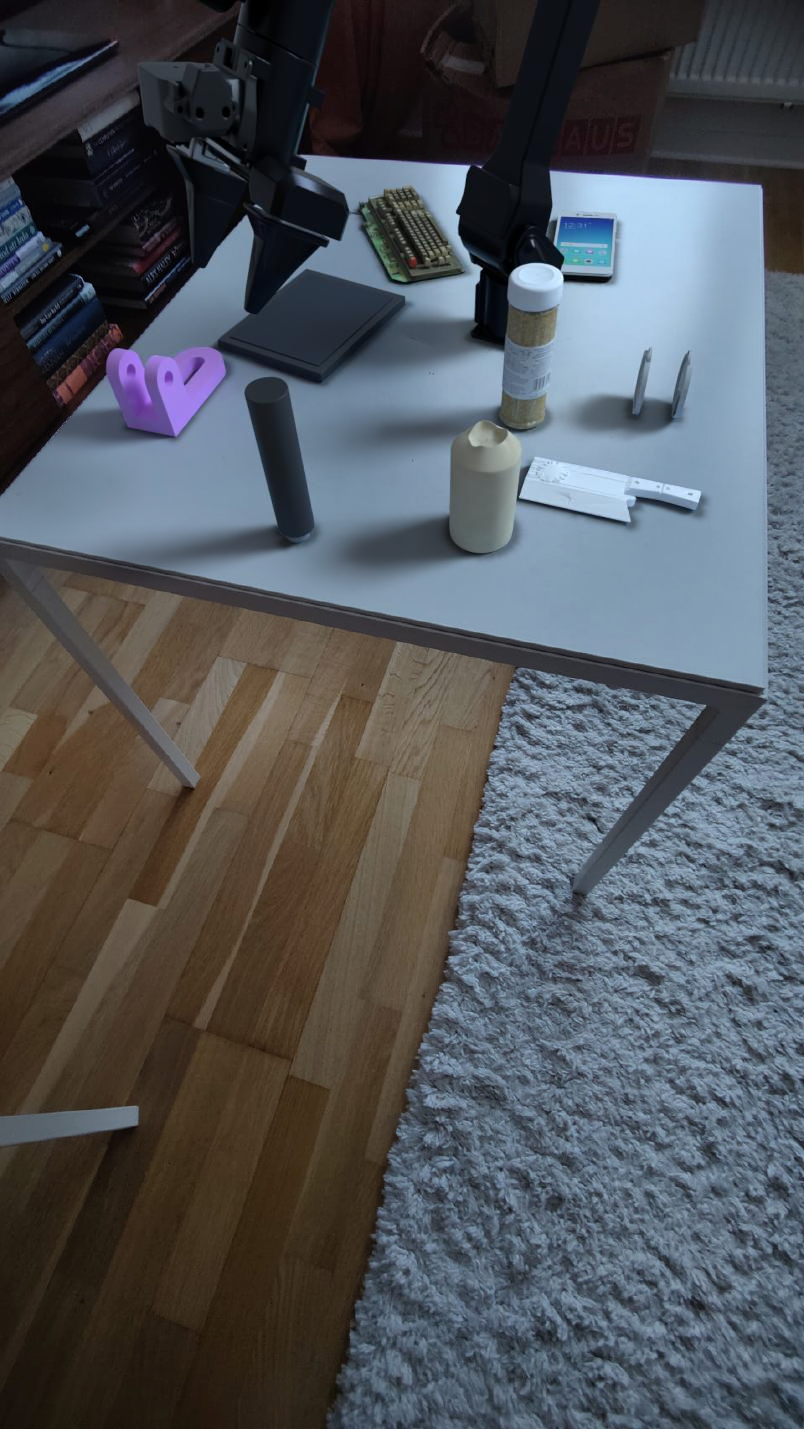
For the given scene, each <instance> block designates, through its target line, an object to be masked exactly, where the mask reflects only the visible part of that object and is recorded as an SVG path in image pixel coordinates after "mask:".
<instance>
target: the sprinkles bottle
mask: <svg viewBox="0 0 804 1429" xmlns="http://www.w3.org/2000/svg"><path fill="white" fill-rule="evenodd" d="M563 288H564V279H563V275H562V273H561V271H560V270H559V269H557V268H556V267H554V266H551V265H548V264H543V263H530V264H525V265H522V266H519V267H518V268H516V269H514V270H513V271H512V273H511V274H510V276H509V283H508V294H507V298H508V301H509V304H508V305H509V310H508V322H507V332H506V338H505V347H504V352H503V365H502V376H501V377H502V378H501V388H502V390H501V402H500V408H499V418H500V421H502V422H503V423H504V425H506V426H508V427H509V428H513V429H515V430H517V429H519V430H525V429H526V430H528V429H532V428H535V427H537V426H538V425H540V424H542V422H543V421H544V419H545V415H546V409H545V408H546V401H547V393H548V390H549V385H550V379H551V371H552V364H553V357H554V349H555V341H556V328H557V318H558V311H559V306H560V303H561V301H562V297H563Z"/></svg>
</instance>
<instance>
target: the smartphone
mask: <svg viewBox="0 0 804 1429" xmlns="http://www.w3.org/2000/svg"><path fill="white" fill-rule="evenodd" d="M617 220H618V215H617V213H615V212H602V211H601V212H600V211H599V212H598V211H576V210H575V211H574V210H561V211H559V212H558V216H557V222H556V225H555V229H554V240H553V244H554V245H555V246H556V248H557V249H558V250H559V251H560V252H561V253H562V255H563V256H564V258H565V259H564V263H563V265H562V268H561V273H562V275H563V280H579V281H595V282H596V281H598V282H609V281H611V280H612V278H613V273H614V264H615V248H616V237H617V222H618V221H617Z"/></svg>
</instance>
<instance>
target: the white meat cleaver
mask: <svg viewBox="0 0 804 1429" xmlns="http://www.w3.org/2000/svg"><path fill="white" fill-rule="evenodd" d="M701 494H702V490H697V489H694V488H688V487H683V486H678V485H674V484H669V483H662V482H658V481H654V480H650V479H645V478H640V477H637V476H636V477H635V476H631V475H630V476H629V475H626V474H621V473H617V472H612V471H608V470H603V469H598V468H596V467H595V468H594V467H590V466H586V465H581V464H576V463H572V462H564V461H559V460H558V461H557V460H554V459H548V458H543V457H540V456H534V458H533V460H532V462H531V464H530V466H529V469H528V472H527V474H526V476H525V478H524V481H523V484H522V488H521V490H520V494H519V496H518V498H519V499H522V500H526V501H531V502H536V503H539V504H544V505H547V506H553V507H557V508H563V509H565V510H571V511H576V512H579V513H584V514H588V515H593V516H598V517H603V518H607V519H611V520H614V521H615V520H616V521H619V522H625V523H629V524H631V522H632V519H631V515H630V512H629V508H631V507H635V504H636V500H637V497H639V498H645V499H651V500H658V501H662V502H665V503H670V504H672V505H676V506H679V507H683V508H687V509H689V510H693V511H696V510H697V508H698V505H699V502H700V498H701Z"/></svg>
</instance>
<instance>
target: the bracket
mask: <svg viewBox="0 0 804 1429" xmlns="http://www.w3.org/2000/svg"><path fill="white" fill-rule="evenodd" d="M105 372H106V377H107V380H108V383H109V385H110V388H111V389H112V392H113V395H114V397H115V399H116V401H117V404H118V406H119V408H120V411H121V413H122V416H123V418H124V421H125V424H126V426H127V428H131V429H136V430H141V431H145V432H149V433H150V432H151V433H155V434H159V435H165V436H168V437H175V438H176V437H178V435H179V434H180V433H181V432H182V430H183V429H184V428H185V426H186V425H187V424H188V422H189V421H190V420H191V419H192V418H193V416H194V415H195V414H196V413H197V411H198V410H199V409H200V408H201V406H202V405H203V404H204V403H205V401H206V400H207V399H208V398H209V397H210V395H211V394H212V393H213V391H214V390H215V389H216V388H217V387H218V385H219V384H220V383H221V381H223V379H224V378H225V376H226V373H227V370H226V366H225V362H224V358H223V355H222V354H221V352H220V351H219V350H217V349H215V348H212V347H208V346H196V347H190V348H188V349H185V350H182V351H181V352H178V353H177V354H176V355H175V356H174V357H169V356H164V355H158V354H156V355H155V354H153V355H152V356H150V357H149V358H148V359H147V361H146V364H145V367H144V365H143V362H142V359H141V358H140V356H139V354H138V353H137V352H136V351H134V350H131V349H124V348H118V347H117V348H114V349H112V350H111V351H110V352H109V354H108V356H107V359H106V365H105ZM194 372H195V373H194ZM193 373H194V375H192V374H193ZM191 375H192V377H191V378H190V376H191ZM189 378H190V379H189ZM188 379H189V381H187V380H188ZM186 381H187V383H186V384H185V382H186Z"/></svg>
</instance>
